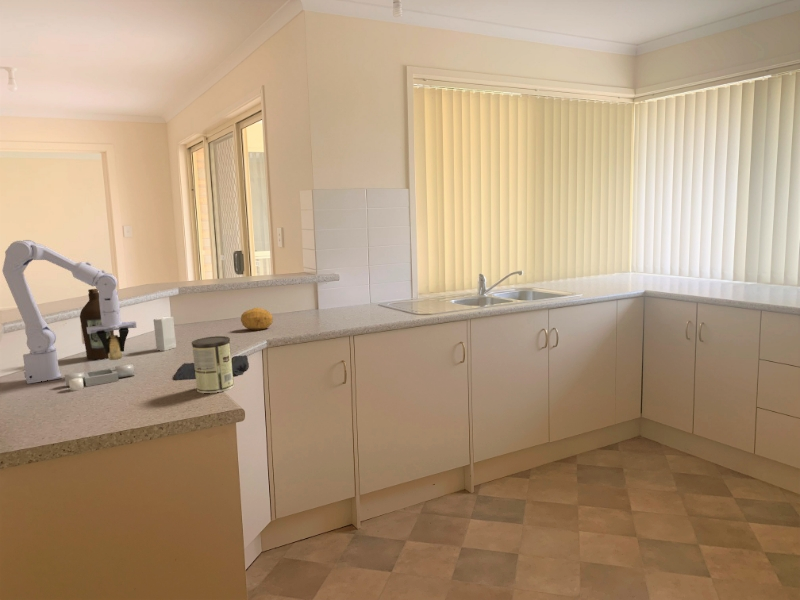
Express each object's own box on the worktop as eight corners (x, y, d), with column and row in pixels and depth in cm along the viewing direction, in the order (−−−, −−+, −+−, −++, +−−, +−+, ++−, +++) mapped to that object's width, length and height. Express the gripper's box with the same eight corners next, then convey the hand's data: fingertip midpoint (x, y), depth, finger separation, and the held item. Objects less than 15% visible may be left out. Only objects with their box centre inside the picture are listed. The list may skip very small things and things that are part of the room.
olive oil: (83, 357, 223) (74, 289, 219) (114, 352, 229) (107, 286, 225) (87, 362, 214) (78, 292, 210) (119, 357, 220) (111, 288, 216)
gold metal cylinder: (109, 360, 196) (106, 337, 195) (108, 358, 199) (105, 335, 198) (123, 358, 198) (120, 335, 197) (121, 356, 202) (118, 334, 200)
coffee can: (202, 384, 177) (197, 337, 175) (237, 382, 177) (233, 335, 175) (191, 394, 167) (186, 344, 165) (229, 392, 167) (224, 342, 165)
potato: (270, 308, 256) (271, 303, 265) (238, 312, 254) (239, 307, 262) (273, 330, 258) (274, 324, 267) (241, 334, 256) (243, 328, 265)
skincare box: (168, 347, 233) (164, 316, 231) (177, 347, 231) (173, 316, 229) (155, 350, 227) (152, 319, 226) (164, 351, 226) (161, 319, 224)
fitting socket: (67, 389, 178) (65, 378, 178) (65, 383, 186) (63, 372, 185) (136, 377, 188) (134, 366, 188) (131, 372, 196) (130, 361, 195)
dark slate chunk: (184, 369, 198) (182, 355, 197) (252, 365, 199) (251, 351, 198) (170, 382, 182) (168, 367, 182) (243, 377, 184) (242, 362, 183)
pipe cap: (70, 391, 176) (69, 381, 176) (69, 389, 179) (68, 379, 179) (84, 389, 178) (83, 379, 178) (83, 386, 181) (82, 377, 181)
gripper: (86, 315, 189) (91, 357, 191) (136, 309, 197) (140, 350, 199) (84, 312, 195) (89, 354, 197) (132, 307, 203) (137, 347, 205)
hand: (114, 352), depth 199 cm, fingers closed on gold metal cylinder, 4 cm apart
